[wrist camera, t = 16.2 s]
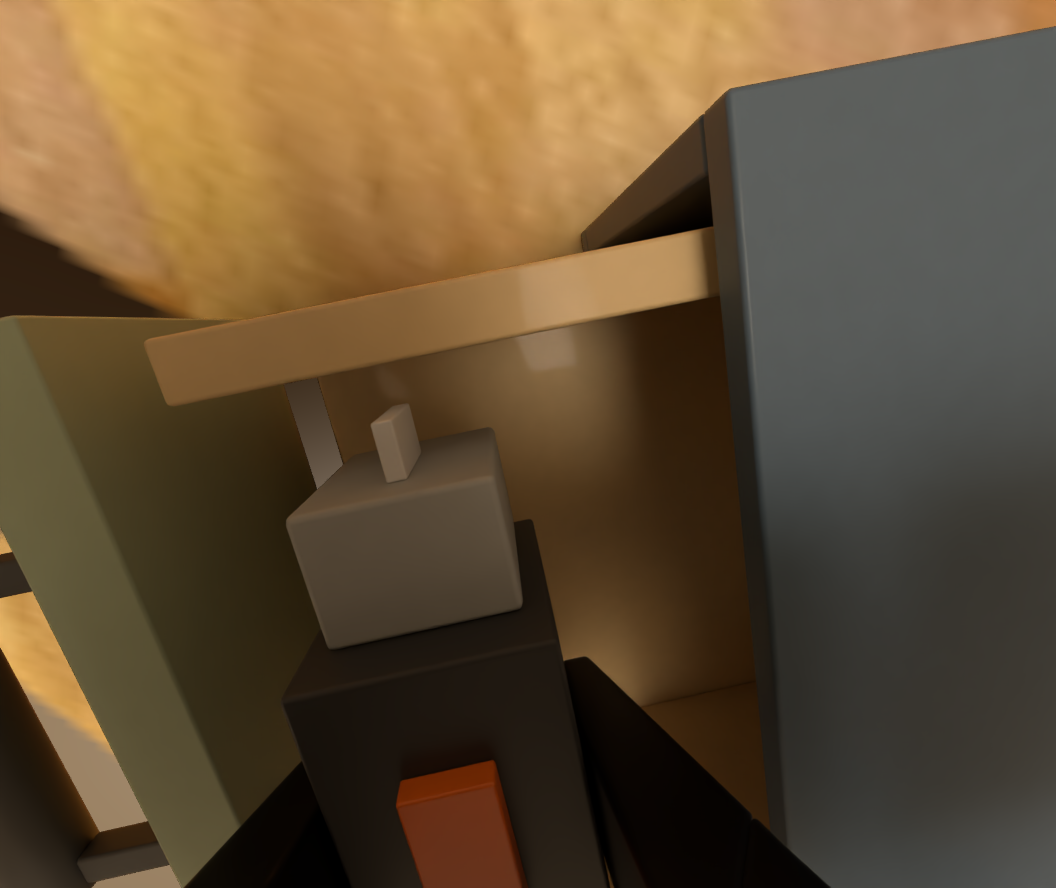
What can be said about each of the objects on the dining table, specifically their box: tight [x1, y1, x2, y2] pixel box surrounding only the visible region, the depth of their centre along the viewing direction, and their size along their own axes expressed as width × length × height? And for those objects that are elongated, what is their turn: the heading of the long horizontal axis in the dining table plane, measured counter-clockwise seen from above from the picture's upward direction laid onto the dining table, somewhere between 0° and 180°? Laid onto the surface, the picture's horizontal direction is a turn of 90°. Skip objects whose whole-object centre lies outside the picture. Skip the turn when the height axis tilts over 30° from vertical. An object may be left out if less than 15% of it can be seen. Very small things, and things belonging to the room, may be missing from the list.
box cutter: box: [281, 403, 610, 888], centre depth 7 cm, size 8×3×4 cm, turn 11°
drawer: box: [0, 226, 770, 888], centre depth 10 cm, size 18×13×6 cm
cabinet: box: [581, 26, 1056, 888], centre depth 10 cm, size 14×14×8 cm
